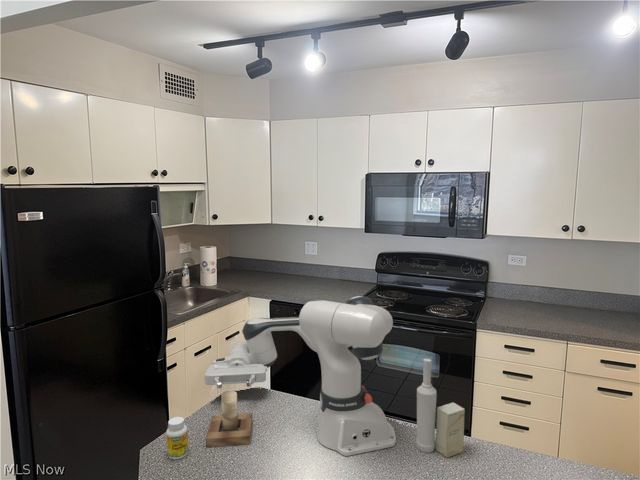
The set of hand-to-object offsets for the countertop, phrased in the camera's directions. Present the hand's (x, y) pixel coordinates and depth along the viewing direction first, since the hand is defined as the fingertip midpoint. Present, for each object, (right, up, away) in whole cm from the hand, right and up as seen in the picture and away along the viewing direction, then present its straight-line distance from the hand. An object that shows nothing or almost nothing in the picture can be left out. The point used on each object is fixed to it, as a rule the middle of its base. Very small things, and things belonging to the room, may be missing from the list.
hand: (233, 385), depth 134 cm
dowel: (+2, -10, -12) cm, 16 cm away
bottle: (+57, -10, -19) cm, 61 cm away
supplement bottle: (-11, -11, -21) cm, 26 cm away
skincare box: (+63, -10, -21) cm, 67 cm away
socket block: (+2, -10, -12) cm, 16 cm away
